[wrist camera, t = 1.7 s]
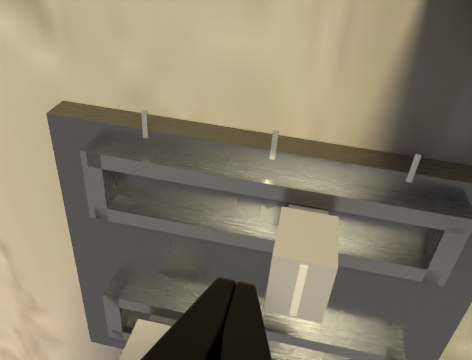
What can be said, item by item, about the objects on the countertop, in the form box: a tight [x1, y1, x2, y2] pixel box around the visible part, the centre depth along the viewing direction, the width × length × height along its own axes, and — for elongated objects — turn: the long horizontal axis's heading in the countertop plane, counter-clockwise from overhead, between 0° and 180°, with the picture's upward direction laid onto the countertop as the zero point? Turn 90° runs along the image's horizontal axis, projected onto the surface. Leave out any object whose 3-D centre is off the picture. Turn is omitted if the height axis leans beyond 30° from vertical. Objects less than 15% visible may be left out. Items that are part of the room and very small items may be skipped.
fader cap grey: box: [263, 203, 339, 324], centre depth 19 cm, size 2×3×5 cm
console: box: [46, 101, 472, 360], centre depth 24 cm, size 22×19×3 cm
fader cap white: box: [119, 315, 177, 360], centre depth 25 cm, size 2×4×5 cm, turn 176°
